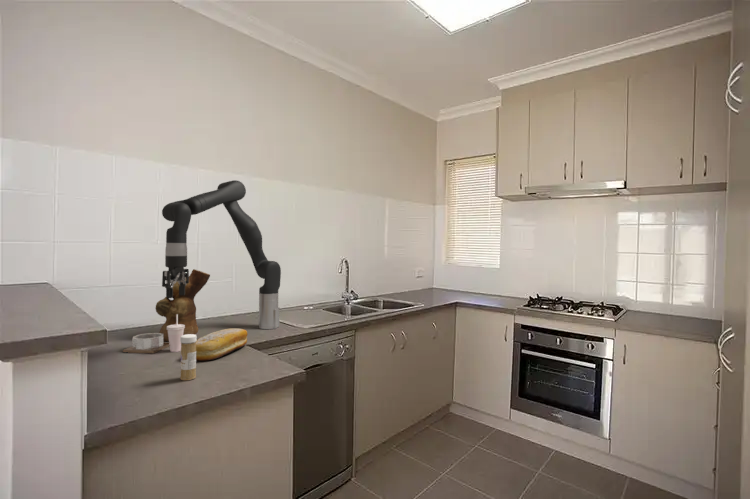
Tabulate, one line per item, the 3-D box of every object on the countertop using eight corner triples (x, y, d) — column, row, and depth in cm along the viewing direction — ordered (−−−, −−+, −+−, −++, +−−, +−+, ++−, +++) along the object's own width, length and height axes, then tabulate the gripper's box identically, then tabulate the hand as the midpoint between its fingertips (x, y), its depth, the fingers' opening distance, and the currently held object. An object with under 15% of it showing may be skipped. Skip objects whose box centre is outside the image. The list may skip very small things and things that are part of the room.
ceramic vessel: (156, 335, 174) (156, 268, 174) (208, 330, 184) (209, 267, 184) (154, 343, 160) (154, 271, 160) (211, 338, 170) (212, 270, 170)
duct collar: (171, 345, 158) (171, 332, 158) (153, 353, 146) (153, 340, 146) (143, 344, 159) (143, 332, 159) (122, 352, 147) (122, 339, 147)
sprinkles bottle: (177, 378, 120) (177, 335, 120) (192, 374, 124) (192, 332, 123) (184, 382, 117) (184, 337, 117) (199, 378, 121) (199, 335, 120)
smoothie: (188, 349, 152) (188, 313, 152) (175, 353, 146) (175, 316, 146) (175, 347, 155) (176, 312, 154) (162, 351, 149) (162, 315, 148)
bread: (253, 344, 161) (253, 325, 161) (215, 364, 135) (215, 341, 135) (224, 342, 164) (224, 324, 164) (181, 361, 138) (181, 339, 138)
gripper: (175, 255, 143) (174, 299, 143) (195, 254, 157) (194, 294, 157) (155, 255, 143) (155, 298, 143) (177, 254, 157) (176, 294, 157)
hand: (176, 296), depth 150 cm, fingers open, 8 cm apart
